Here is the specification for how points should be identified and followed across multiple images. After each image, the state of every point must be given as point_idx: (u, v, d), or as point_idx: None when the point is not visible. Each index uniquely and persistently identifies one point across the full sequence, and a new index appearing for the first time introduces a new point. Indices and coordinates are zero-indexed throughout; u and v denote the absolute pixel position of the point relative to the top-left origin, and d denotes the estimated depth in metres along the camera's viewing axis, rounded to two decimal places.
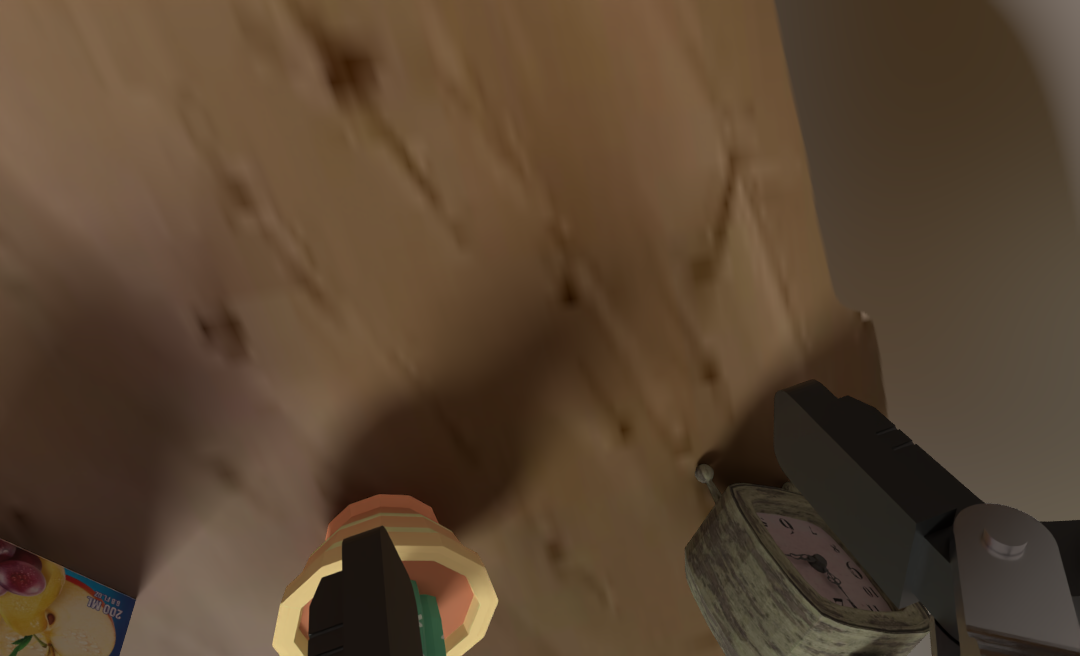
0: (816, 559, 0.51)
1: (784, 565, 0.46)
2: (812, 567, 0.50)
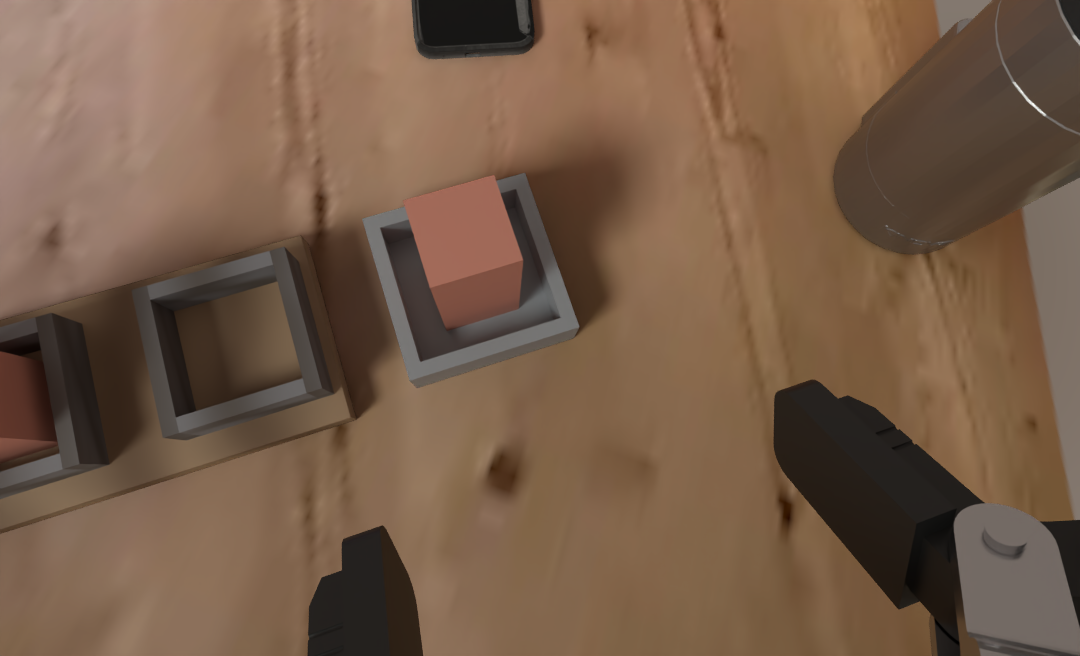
0: None
1: None
2: None
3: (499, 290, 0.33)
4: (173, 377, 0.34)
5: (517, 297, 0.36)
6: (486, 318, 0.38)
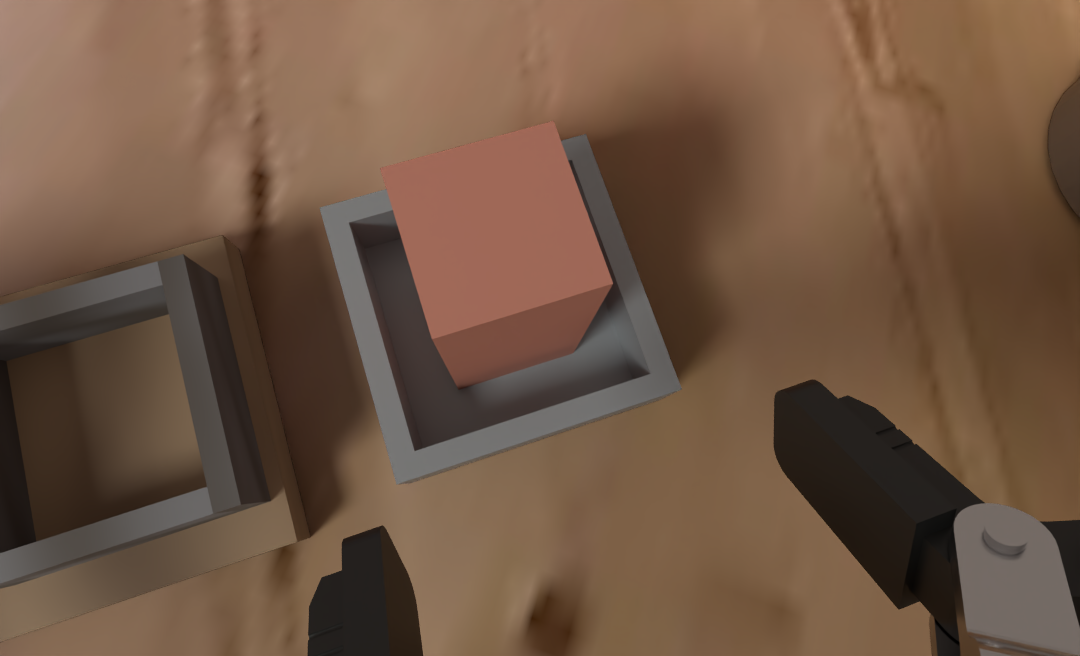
0: None
1: None
2: None
3: (553, 332, 0.19)
4: None
5: (577, 339, 0.21)
6: (522, 368, 0.24)
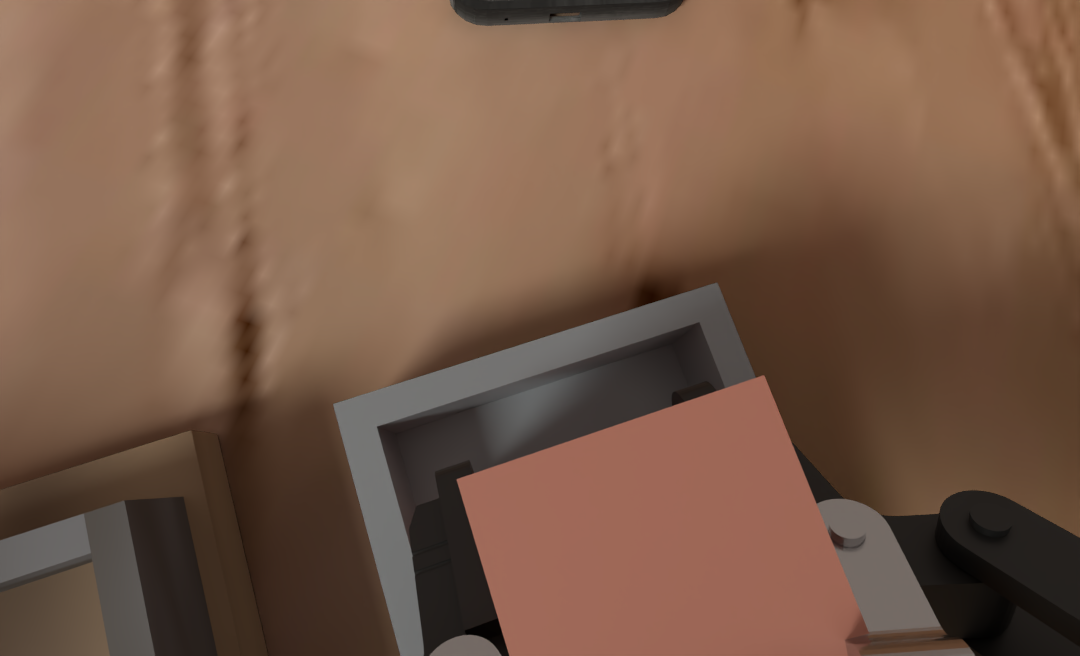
0: None
1: None
2: None
3: None
4: None
5: None
6: None
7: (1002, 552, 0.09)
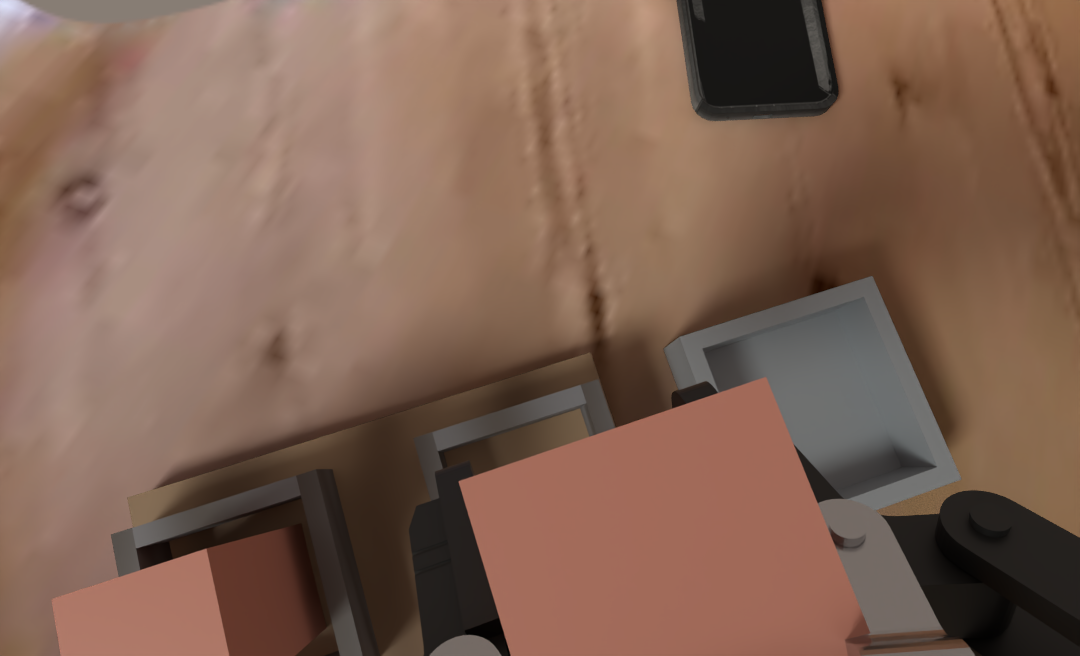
0: None
1: None
2: None
3: None
4: None
5: None
6: None
7: (1002, 552, 0.09)
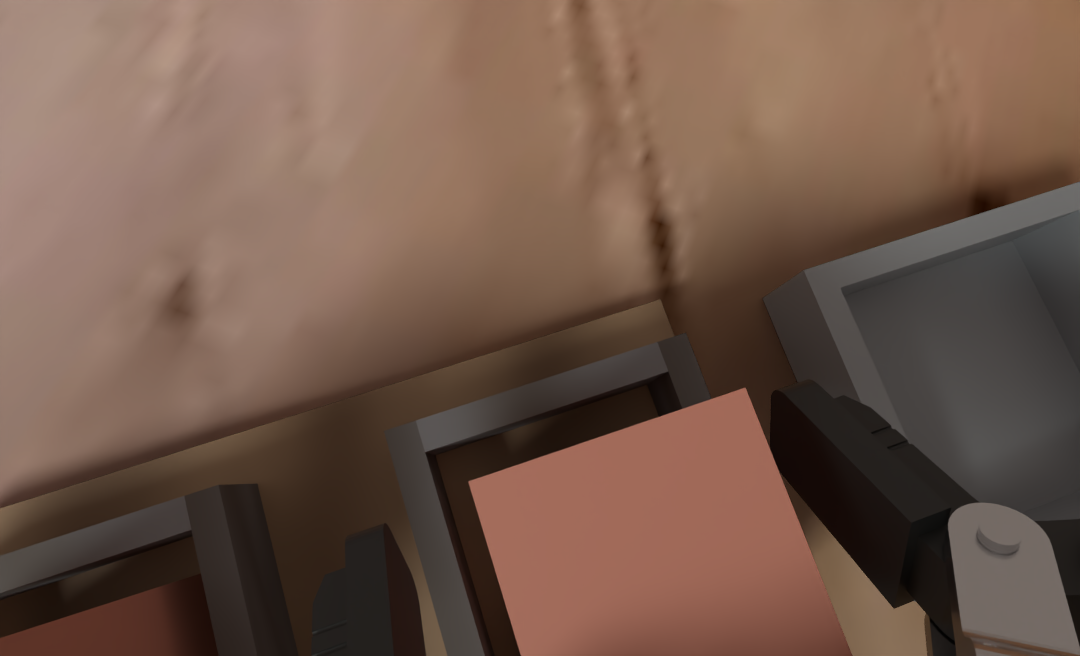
0: None
1: None
2: None
3: None
4: (477, 619, 0.16)
5: None
6: None
7: None
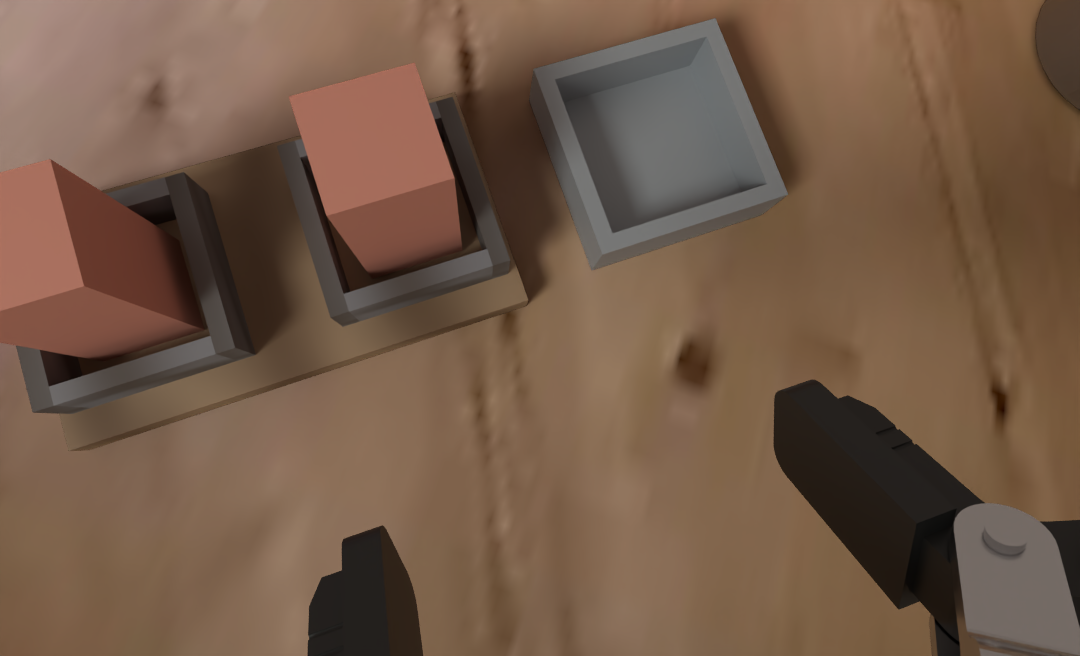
0: None
1: None
2: None
3: (430, 223, 0.26)
4: (331, 250, 0.29)
5: (457, 234, 0.28)
6: (422, 262, 0.30)
7: None
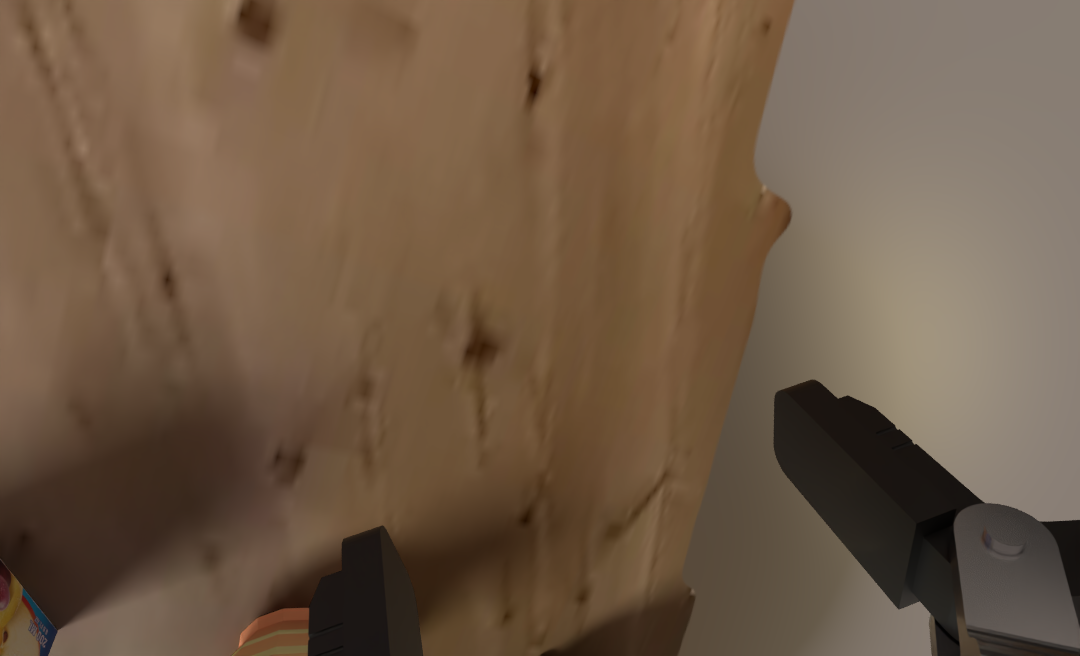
0: None
1: None
2: None
3: None
4: None
5: None
6: None
7: None
